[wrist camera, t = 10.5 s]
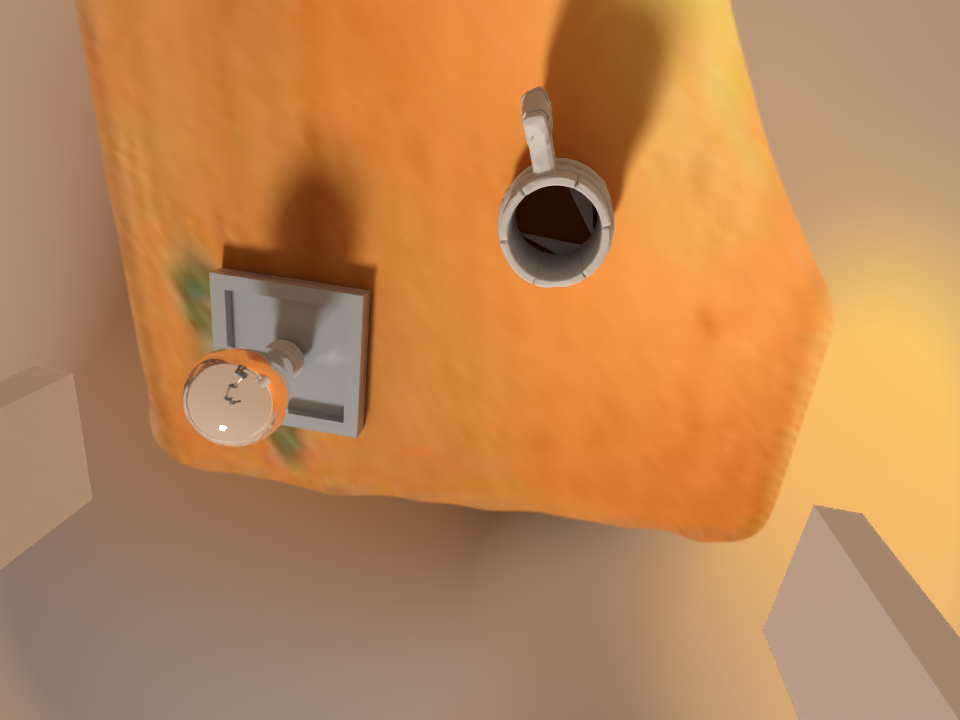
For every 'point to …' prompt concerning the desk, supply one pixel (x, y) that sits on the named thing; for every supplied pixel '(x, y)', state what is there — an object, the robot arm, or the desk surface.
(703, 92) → the desk surface
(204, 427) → the light bulb
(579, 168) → the mug
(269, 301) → the dish
